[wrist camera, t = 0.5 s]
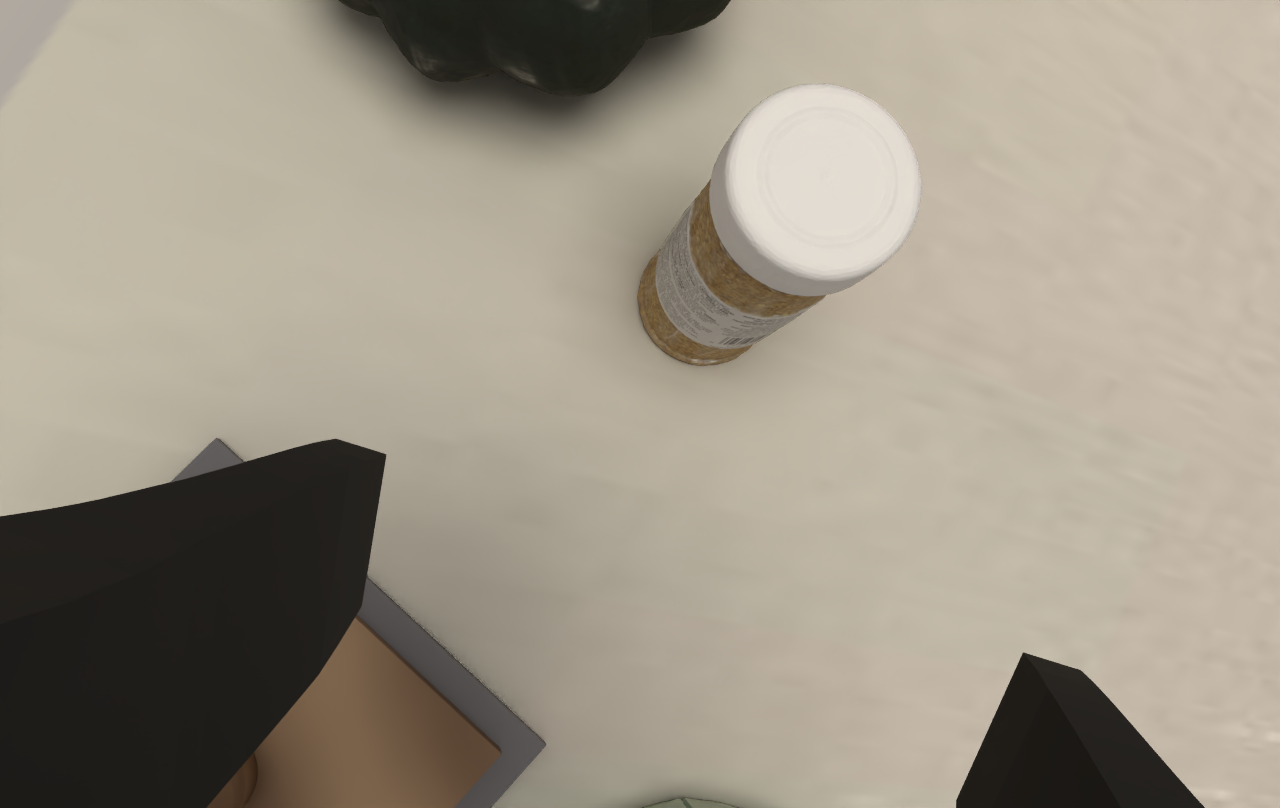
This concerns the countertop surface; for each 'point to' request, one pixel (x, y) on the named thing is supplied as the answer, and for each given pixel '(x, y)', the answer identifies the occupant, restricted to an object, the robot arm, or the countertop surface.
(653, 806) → the bowl
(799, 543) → the countertop surface
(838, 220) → the sprinkles bottle
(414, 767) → the lid
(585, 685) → the countertop surface
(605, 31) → the squash
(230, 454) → the mat
